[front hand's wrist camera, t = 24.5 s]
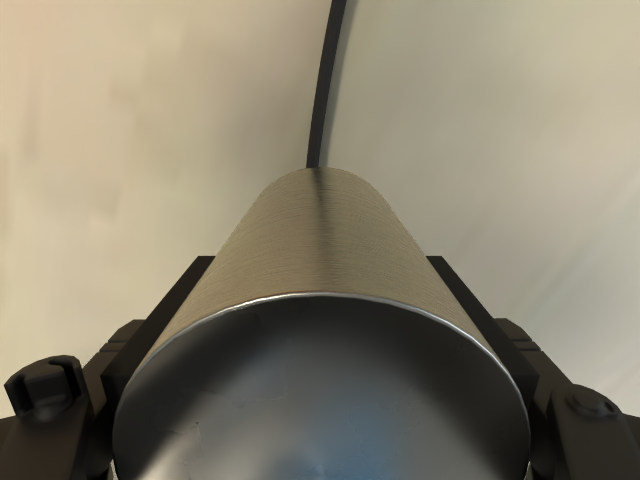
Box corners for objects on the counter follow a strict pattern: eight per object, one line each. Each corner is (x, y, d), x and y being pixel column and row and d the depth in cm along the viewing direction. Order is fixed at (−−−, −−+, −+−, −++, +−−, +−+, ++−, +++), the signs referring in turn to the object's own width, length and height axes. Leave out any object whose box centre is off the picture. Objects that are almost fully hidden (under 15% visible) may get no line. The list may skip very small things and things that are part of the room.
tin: (218, 268, 19) (57, 523, 7) (289, 135, 16) (217, 197, 5) (344, 331, 20) (378, 627, 9) (427, 217, 18) (628, 419, 6)
